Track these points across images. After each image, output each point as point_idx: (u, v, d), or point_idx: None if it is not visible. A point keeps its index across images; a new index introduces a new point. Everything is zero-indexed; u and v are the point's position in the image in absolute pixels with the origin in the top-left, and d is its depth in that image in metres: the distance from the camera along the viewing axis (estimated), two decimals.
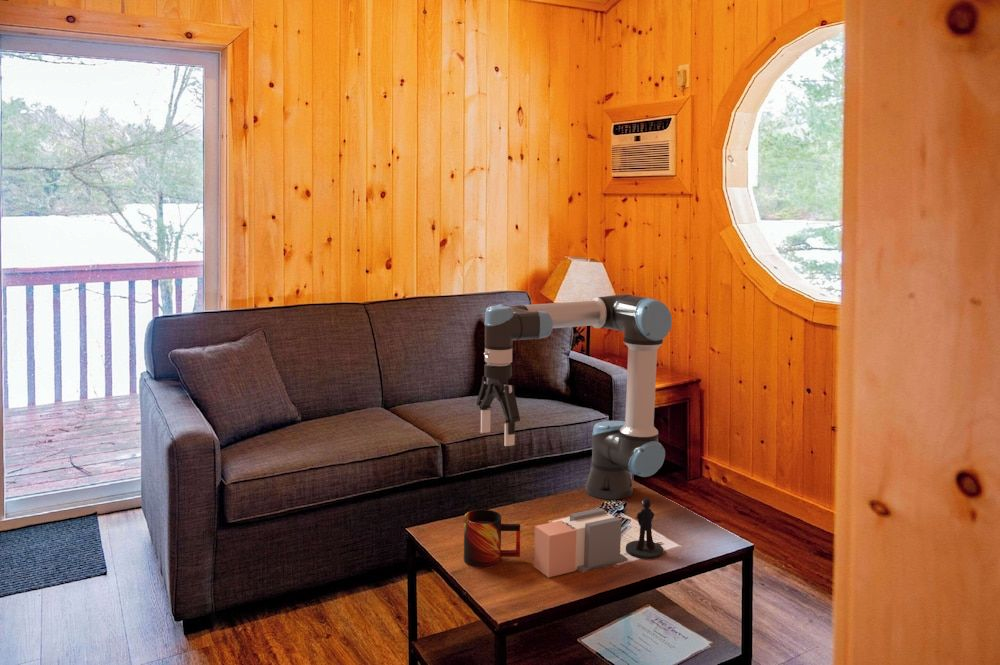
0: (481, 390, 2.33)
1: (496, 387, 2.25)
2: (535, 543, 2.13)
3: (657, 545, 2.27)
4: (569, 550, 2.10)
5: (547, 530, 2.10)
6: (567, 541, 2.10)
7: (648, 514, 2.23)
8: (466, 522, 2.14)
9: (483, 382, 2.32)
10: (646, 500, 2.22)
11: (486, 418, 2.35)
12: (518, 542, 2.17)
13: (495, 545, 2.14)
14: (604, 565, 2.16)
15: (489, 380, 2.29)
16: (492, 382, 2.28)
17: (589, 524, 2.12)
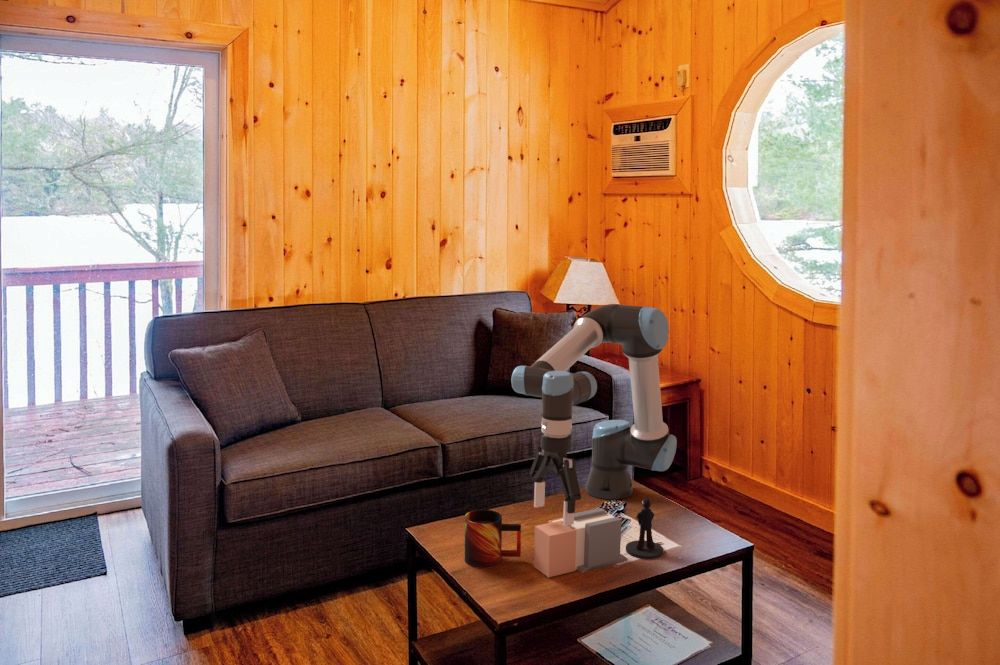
0: (535, 461, 2.14)
1: (554, 460, 2.06)
2: (535, 543, 2.13)
3: (657, 545, 2.27)
4: (569, 550, 2.10)
5: (547, 530, 2.10)
6: (567, 541, 2.10)
7: (648, 514, 2.23)
8: (467, 522, 2.14)
9: (538, 453, 2.13)
10: (646, 500, 2.22)
11: (540, 491, 2.15)
12: (519, 542, 2.17)
13: (495, 545, 2.14)
14: (604, 565, 2.16)
15: (545, 451, 2.10)
16: (549, 454, 2.08)
17: (589, 524, 2.12)
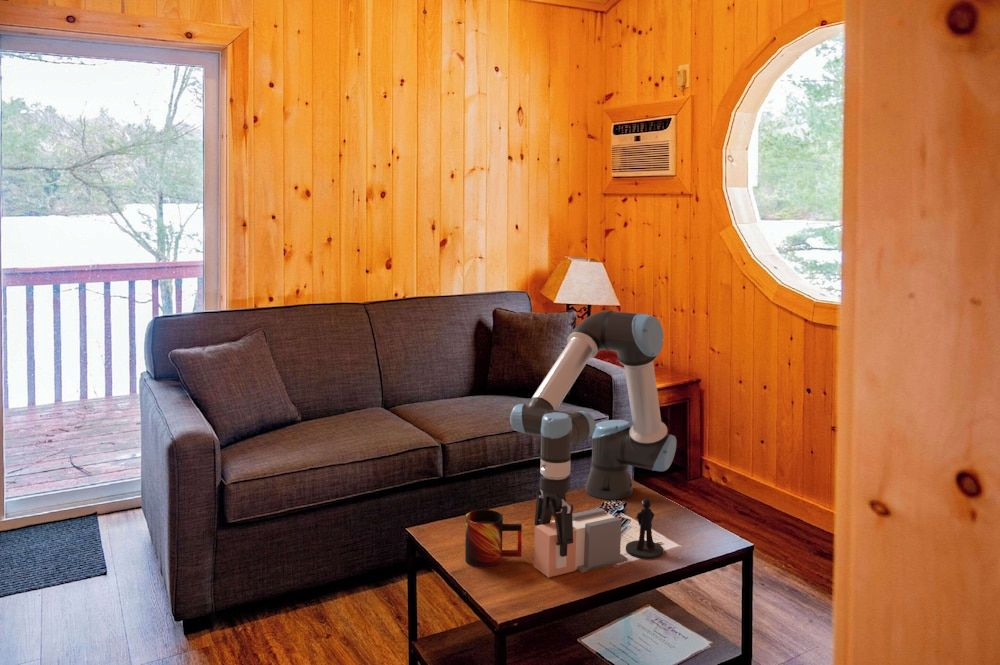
0: (537, 506, 2.15)
1: (553, 502, 2.08)
2: (535, 543, 2.13)
3: (657, 545, 2.27)
4: (569, 550, 2.10)
5: (547, 530, 2.10)
6: None
7: (648, 514, 2.23)
8: (467, 522, 2.14)
9: (538, 496, 2.14)
10: (646, 500, 2.22)
11: None
12: (519, 542, 2.17)
13: (496, 545, 2.14)
14: (604, 565, 2.16)
15: (544, 491, 2.12)
16: None
17: (589, 524, 2.12)
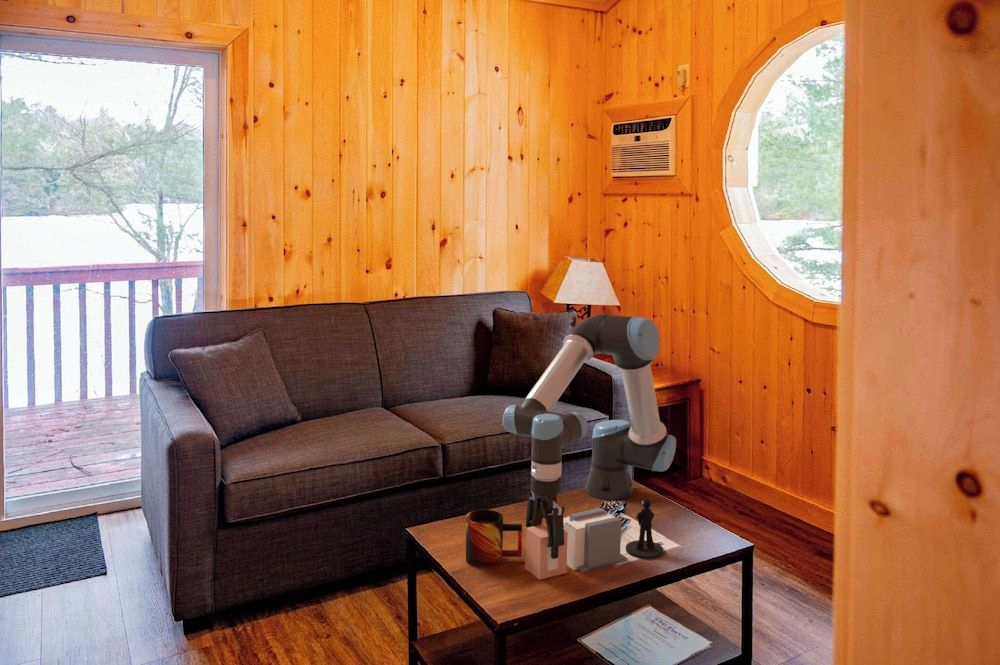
0: (528, 508, 2.14)
1: (544, 504, 2.06)
2: (526, 545, 2.12)
3: (657, 545, 2.27)
4: (560, 552, 2.09)
5: (538, 532, 2.09)
6: None
7: (648, 514, 2.23)
8: (468, 522, 2.14)
9: (529, 498, 2.13)
10: (646, 500, 2.22)
11: None
12: (520, 542, 2.17)
13: (497, 545, 2.14)
14: (604, 565, 2.16)
15: (535, 493, 2.11)
16: None
17: (589, 524, 2.12)
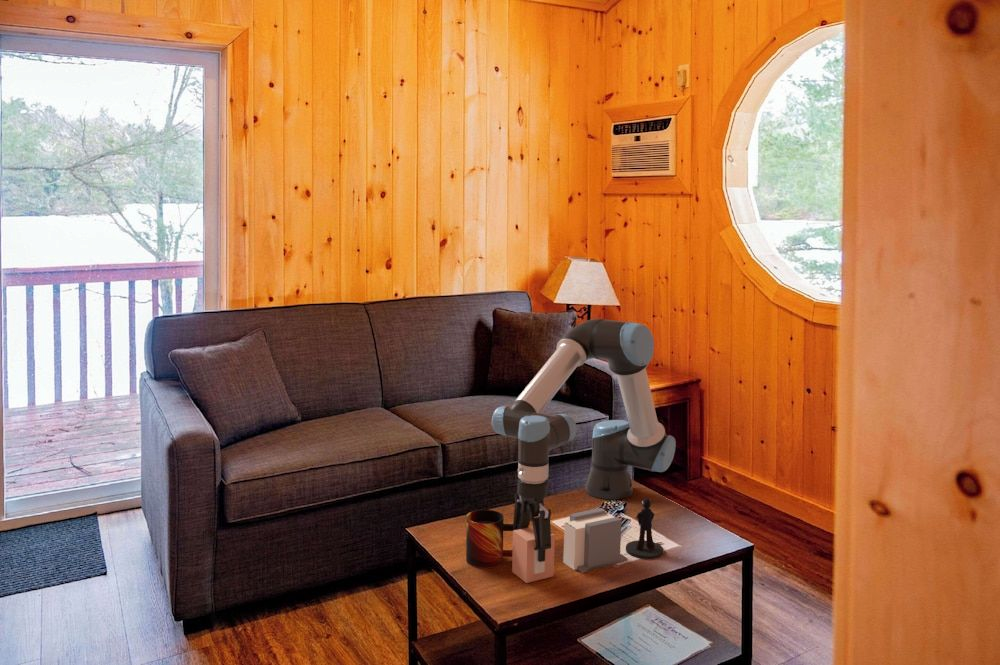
0: (515, 511, 2.12)
1: (531, 507, 2.04)
2: (513, 548, 2.10)
3: (657, 545, 2.27)
4: (548, 555, 2.07)
5: (525, 535, 2.07)
6: None
7: (648, 514, 2.23)
8: (468, 522, 2.14)
9: (516, 501, 2.11)
10: (646, 500, 2.22)
11: None
12: None
13: (497, 545, 2.14)
14: (604, 565, 2.16)
15: None
16: None
17: (589, 524, 2.12)
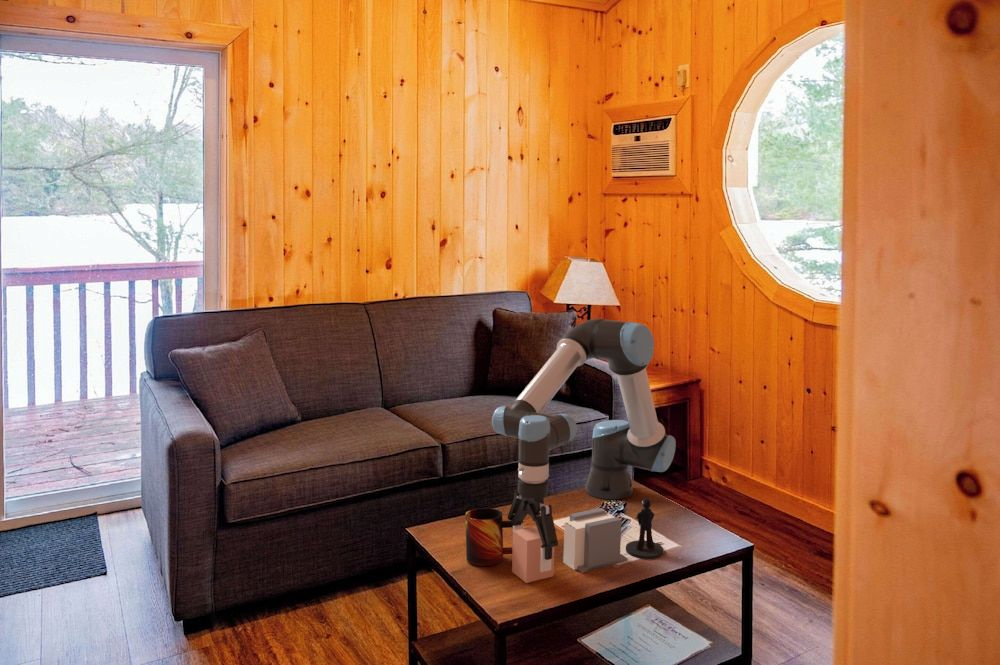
0: (513, 504, 2.13)
1: (531, 506, 2.04)
2: (513, 548, 2.10)
3: (657, 545, 2.27)
4: None
5: (524, 535, 2.07)
6: None
7: (648, 514, 2.23)
8: (467, 519, 2.15)
9: (516, 496, 2.11)
10: (646, 500, 2.22)
11: None
12: None
13: (497, 541, 2.15)
14: (604, 565, 2.16)
15: None
16: (526, 499, 2.07)
17: (589, 524, 2.12)
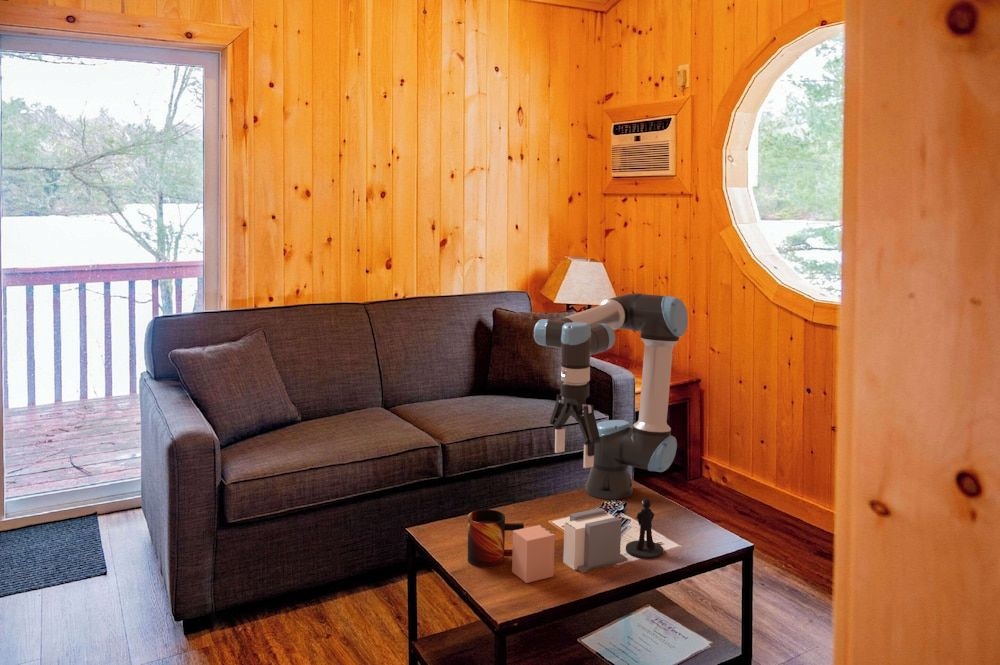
0: (555, 409, 2.25)
1: (574, 407, 2.17)
2: (513, 548, 2.10)
3: (657, 545, 2.27)
4: (547, 555, 2.07)
5: (524, 535, 2.07)
6: (545, 546, 2.07)
7: (648, 514, 2.23)
8: (470, 522, 2.14)
9: (558, 401, 2.24)
10: (646, 500, 2.22)
11: (560, 437, 2.27)
12: None
13: (499, 544, 2.15)
14: (604, 565, 2.16)
15: (565, 399, 2.21)
16: (568, 401, 2.19)
17: (589, 524, 2.12)
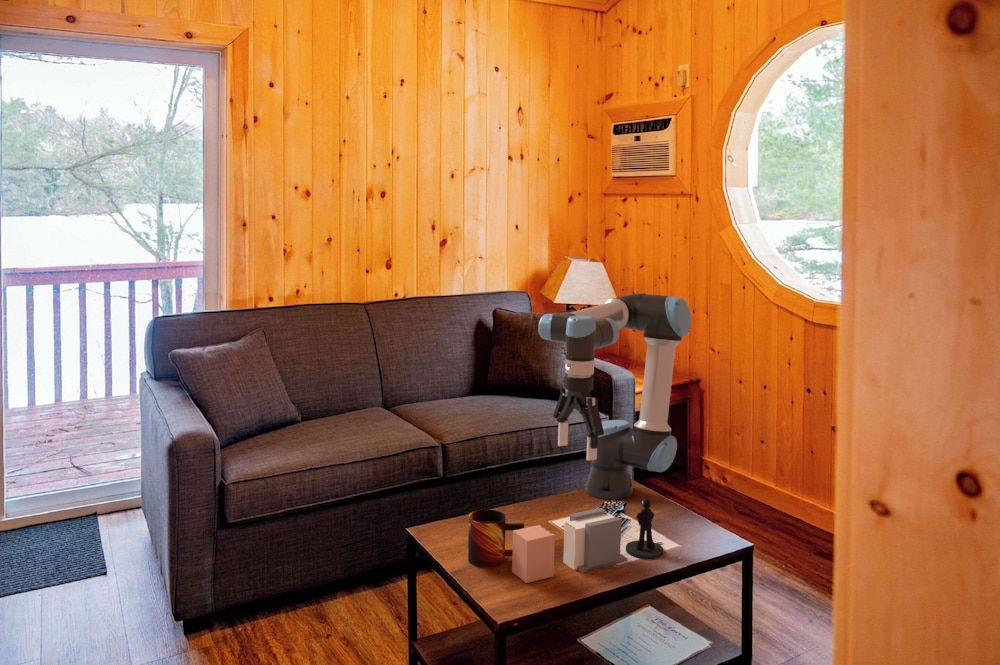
0: (559, 402, 2.27)
1: (577, 399, 2.18)
2: (513, 548, 2.10)
3: (657, 545, 2.27)
4: (547, 555, 2.07)
5: (524, 535, 2.07)
6: (545, 546, 2.07)
7: (648, 514, 2.23)
8: (471, 522, 2.14)
9: (562, 394, 2.25)
10: (646, 500, 2.22)
11: (564, 431, 2.28)
12: None
13: (500, 544, 2.15)
14: (604, 565, 2.16)
15: (569, 392, 2.22)
16: (572, 394, 2.21)
17: (589, 524, 2.12)
